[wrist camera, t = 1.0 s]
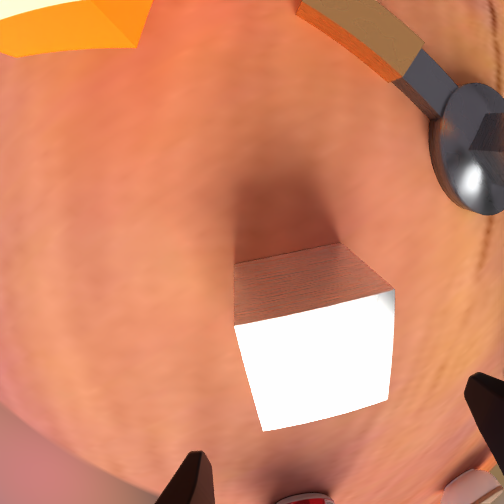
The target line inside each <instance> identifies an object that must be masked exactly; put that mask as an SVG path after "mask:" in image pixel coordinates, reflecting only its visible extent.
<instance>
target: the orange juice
mask: <svg viewBox="0 0 504 504" xmlns="http://www.w3.org/2000/svg"><path fill="white" fill-rule="evenodd" d="M152 2H153V0H0V52H1V53H4V54H7V55H10V56H13V57H16V58H17V57H23V56H29V55H35V54H42V53H49V52H57V51H67V50H79V49H95V48H137V45H138V42H139V39H140V36H141V33H142V30H143V27H144V24H145V21H146V18H147V15H148V13H149V10H150V7H151V5H152Z"/></svg>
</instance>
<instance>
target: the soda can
mask: <svg viewBox="0 0 504 504" xmlns="http://www.w3.org/2000/svg"><path fill="white" fill-rule="evenodd" d="M276 504H334V501H333V500H332V499H331V498H330V497H328V496H326V495H324V494H321V493H305V494H299V495H294V496H291V497H288V498H285V499H282V500H280V501H279V502H277V503H276Z"/></svg>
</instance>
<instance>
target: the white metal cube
mask: <svg viewBox="0 0 504 504" xmlns="http://www.w3.org/2000/svg"><path fill="white" fill-rule="evenodd" d="M394 312H395V289H394V288H393V287H392V286H391V285H390V284H388V283H387V282H386V281H385V280H384V279H383V278H382V277H381V276H379V275H378V274H377V273H376V272H375V271H374V270H373V269H371V268H370V267H369V266H368V265H367V264H366V263H364V262H363V261H362V260H361V259H360V258H359V257H357V256H356V255H355V254H354V253H353V252H352V251H350V250H349V249H348V248H347V247H346V246H344V245H343V244H342V243H336V244H331V245H326V246H322V247H317V248H312V249H307V250H302V251H297V252H292V253H287V254H282V255H278V256H273V257H268V258H263V259H258V260H253V261H248V262H243V263H238V264H234V327H235V331H236V335H237V339H238V343H239V346H240V350H241V354H242V357H243V361H244V365H245V368H246V372H247V376H248V379H249V383H250V386H251V390H252V393H253V397H254V401H255V404H256V407H257V411H258V414H259V418H260V421H261V425H262V428H263V431H267V430H273V429H278V428H283V427H289V426H293V425H298V424H303V423H307V422H312V421H316V420H320V419H324V418H328V417H332V416H335V415H339V414H343V413H346V412H350V411H353V410H357V409H360V408H363V407H366V406H369V405H372V404H375V403H378V402H381V401H384V400H387V397H388V390H389V381H390V372H391V361H392V349H393V334H394Z"/></svg>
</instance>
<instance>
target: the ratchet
mask: <svg viewBox="0 0 504 504" xmlns="http://www.w3.org/2000/svg"><path fill="white" fill-rule="evenodd" d="M296 15H297V16H299V17H300V18H302V19H304V20H305V21H307V22H308V23H310V24H311V25H313V26H315V27H316V28H318V29H319V30H321V31H322V32H324V33H325V34H326V35H328V36H329V37H331V38H332V39H334V40H335V41H336V42H338V43H339V44H341V45H342V46H343V47H345V48H346V49H347V50H349V51H350V52H351V53H353V54H354V55H355V56H357V57H358V58H359V59H360V60H362V61H363V62H364V63H365V64H367V65H368V66H369V67H370V68H371V69H373V70H374V71H375V72H376V73H377V74H379V75H380V76H381V77H382V78H383V79H384V80H386V81H387V82H388V83H389V82H392V83H393V84H394V85H395V86H397V87H398V88H399V89H400V90H401V91H402V92H403V93H404V94H405V95H406V96H407V97H408V98H409V99H410V100H411V101H412V102H413V103H414V104H415V105H416V106H417V107H418V108H419V109H420V110H421V111H422V112H423V113H424V114H425V115H426V116H427V117H428V118H429V119H430V124H429V151H430V157H431V162H432V165H433V169H434V172H435V175H436V177H437V179H438V182H439V184H440V186H441V187H442V189H443V191H444V192H445V193H446V195H447V196H448V197H449V198H450V199H451V200H452V201H453V202H454V203H455V204H456V205H458V206H459V207H461V208H463V209H467V210H470V211H473V212H476V213H479V214H482V215H494V214H497V213H499V212H501V211H503V210H504V99H503V98H502V96H501V95H500V94H499V93H497V92H496V91H495V90H494V89H492V88H491V87H489V86H487V85H485V84H481V83H470V84H465V85H460V86H457V85H456V84H455V83H454V82H453V80H452V79H451V78H450V77H449V76H448V75H447V74H446V73H445V72H444V71H443V70H442V68H441V67H440V66H439V65H438V64H437V63H436V62H435V61H434V60H433V59H432V58H431V57H430V56H429V55H428V54H427V53H426V52H425V51H424V50H423V49H422V46H423V45H424V43H425V42H424V41H423V40H422V39H421V38H419V37H418V36H417V35H416V34H415V33H414V32H413V31H412V30H411V29H410V28H408V27H407V26H406V25H405V24H404V23H403V22H402V21H400V20H399V19H398V18H397V17H396V16H394V15H393V14H392V13H391V12H389V11H388V10H387V9H386V8H384V7H383V6H382V5H381V4H379V3H378V2H377V1H375V0H302V2H301V4H300V6H299V8H298V10H297V12H296Z"/></svg>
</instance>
